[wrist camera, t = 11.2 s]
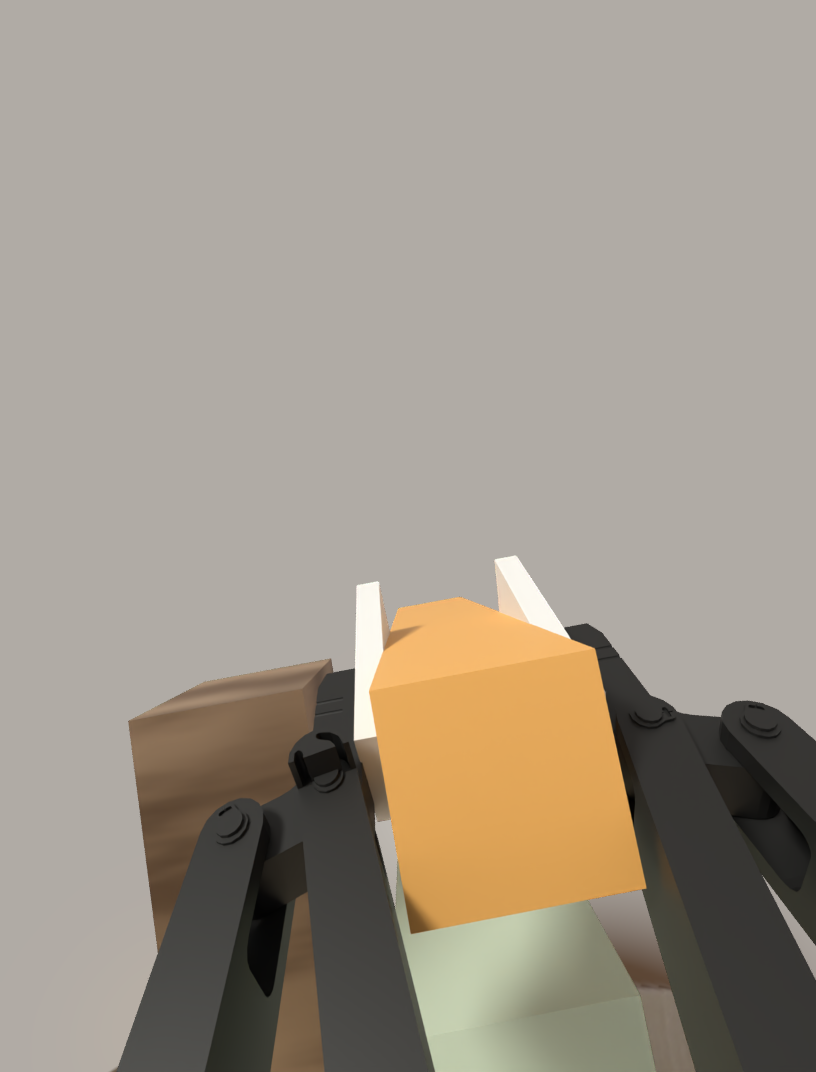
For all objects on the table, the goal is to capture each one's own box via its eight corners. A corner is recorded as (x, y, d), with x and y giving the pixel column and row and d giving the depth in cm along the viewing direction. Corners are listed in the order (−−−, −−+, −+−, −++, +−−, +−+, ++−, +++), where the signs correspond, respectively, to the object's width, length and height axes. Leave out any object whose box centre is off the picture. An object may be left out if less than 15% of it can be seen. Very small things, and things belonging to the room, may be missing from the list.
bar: (646, 888, 8) (594, 648, 8) (411, 934, 8) (368, 691, 8) (472, 659, 30) (460, 596, 30) (409, 671, 30) (398, 608, 30)
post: (395, 1272, 25) (302, 688, 27) (203, 1311, 24) (128, 721, 27) (399, 1071, 34) (330, 658, 37) (263, 1098, 34) (204, 681, 37)
